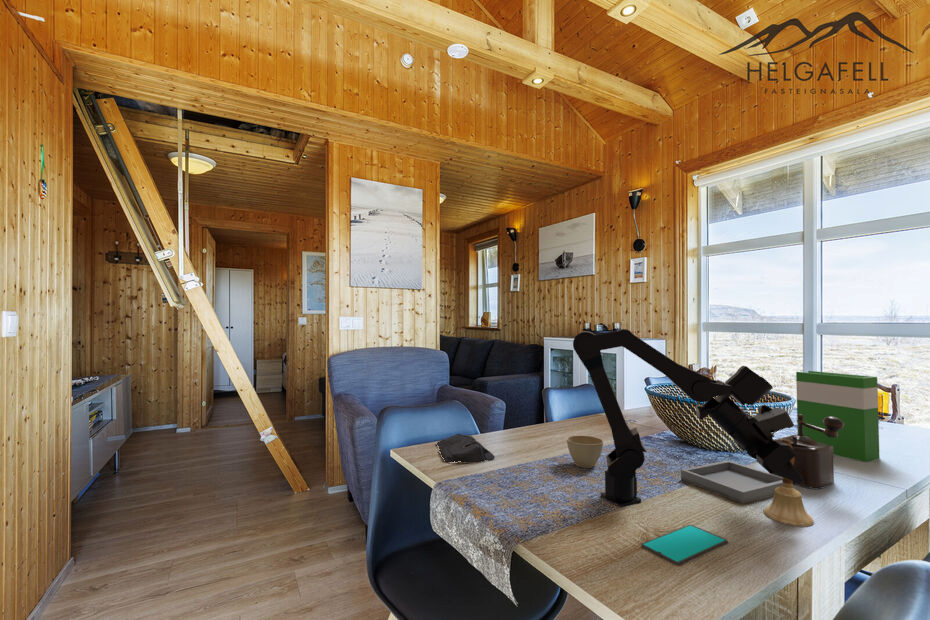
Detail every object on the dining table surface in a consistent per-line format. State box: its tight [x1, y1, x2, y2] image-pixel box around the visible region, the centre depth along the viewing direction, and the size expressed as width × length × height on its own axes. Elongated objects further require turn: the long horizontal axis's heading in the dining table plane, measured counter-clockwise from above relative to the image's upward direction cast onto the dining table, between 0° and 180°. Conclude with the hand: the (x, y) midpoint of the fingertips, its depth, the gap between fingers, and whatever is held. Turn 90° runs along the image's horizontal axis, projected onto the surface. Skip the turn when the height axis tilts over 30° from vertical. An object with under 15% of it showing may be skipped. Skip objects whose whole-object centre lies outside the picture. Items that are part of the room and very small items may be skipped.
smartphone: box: [641, 524, 729, 567], centre depth 78 cm, size 7×1×15 cm
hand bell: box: [763, 439, 815, 528], centre depth 89 cm, size 8×8×16 cm
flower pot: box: [566, 434, 604, 469], centre depth 122 cm, size 10×10×7 cm
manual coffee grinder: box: [772, 414, 844, 490], centre depth 108 cm, size 16×11×18 cm
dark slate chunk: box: [436, 433, 495, 463], centre depth 134 cm, size 15×22×5 cm
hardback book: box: [795, 370, 881, 463], centre depth 134 cm, size 18×7×24 cm, turn 23°
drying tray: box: [680, 460, 783, 505], centre depth 107 cm, size 18×16×2 cm
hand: (795, 477), depth 89 cm, fingers open, 5 cm apart
